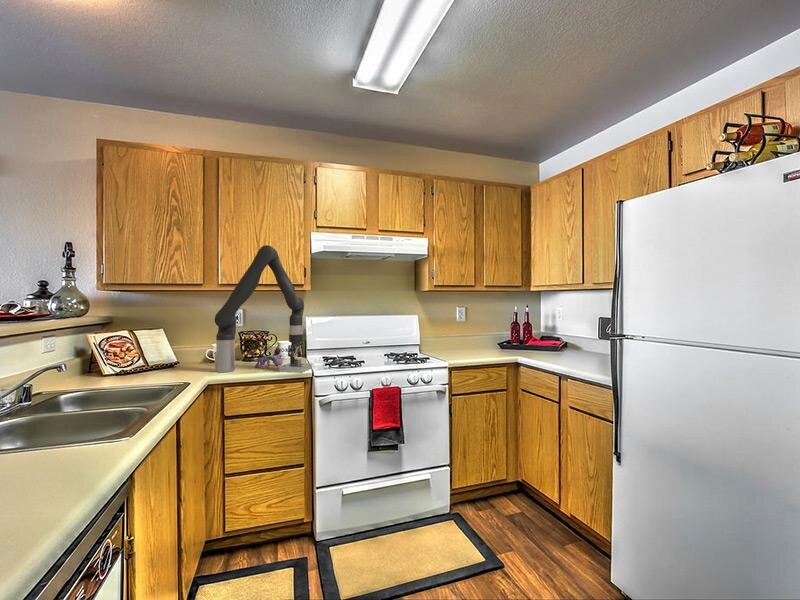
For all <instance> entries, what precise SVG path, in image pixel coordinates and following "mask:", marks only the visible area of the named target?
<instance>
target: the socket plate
mask: <svg viewBox="0 0 800 600" xmlns="http://www.w3.org/2000/svg"><path fill="white" fill-rule="evenodd" d="M311 368H312V369H313V363H309V362H301V365H300V366H290V362H289V363H286V364H281V365H280V366H279V368H278V370H279V371H278V372H279V373H293V374H294V373H295V374H296V373H297V374H298V373H299V374H302V373H305V372H307V371H310V370H312V369H311ZM309 369H310V370H309Z"/></svg>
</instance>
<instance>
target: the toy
mask: <svg viewBox="0 0 800 600" xmlns="http://www.w3.org/2000/svg"><path fill="white" fill-rule="evenodd" d="M270 361H272V363H273V365H275V366H276V365H280V366H282V365H283V363H284V358H283V355H282V354H281V350H280V349H279V348H278V347H276V348H275V349H274V354H273V355H264V356H261V357H259V358H258V359H257V361H256V363H255V365H254V368H255V369H257V367H258V368H259V367H263V366H265V367H264V368H265V370H269V368H270V366H271V365H270V363H271V362H270Z"/></svg>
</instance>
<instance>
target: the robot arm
mask: <svg viewBox="0 0 800 600" xmlns="http://www.w3.org/2000/svg"><path fill="white" fill-rule="evenodd" d="M277 251H278V250H276V249H275V248H274V247H273V246H271V245H266V244H265V245H262V246H261V247H260V248H259V249H258V251H257V252H256V255H255V257H254V259H253V260H252V262H251V263H250V266H249V267H248V268H247V269H246V271H245V273H244V274H243V275H242V276H241V278H240V279H239V281H238V282H237V284H236V285H235V287H234V288H233V290H232V292H231V294H230V295H229V297H228V298H227V300H226V302H225V303H224V304H223V305H222V307H221V308H220V309H218V311H217V312H216V314H215V316H214V323H215V325H216V326H217V327H218V330H217V334H216V335H215V337H216V339H215V340H216V343H215V344H216V348H215V349H216V350H215V351H216V353H214V372H215V371H216V372H215V373H231V372H234V371H236V369H235V368H236V367H235V366H236V365H235V364H236V363H235V361H236V358H235V357H236V356H235V353H236V352H235V351H236V348H235V346H236V345H235V344H236V343H235V340H236V332H237V318H236V317H237V316H236V314H237V312H238V311H239V309H240V308H241V306H243V304H244V303H245V302H247V300H248V299H250V297H251V296H252V295H253V294H254V292H255V290H256V289H257V288H258V285H259V282H260V279H261V276H262V274H263V272H264V270H265V268H266V267H269V268H270V271H272V273H273V275H274V279H275V280H276V283H277V286H278V288H279V289H280V291H281V293H282V294H283V296H284V297H283V298H284V300H285V303H286V305H287V307H288V308H289V309H290V310H291V315H289V318H288V319H289V327H288V342H289V343H291V344H289V345H288V346H287V357H289V359H290V361H289V363H290V364H294V363H295V357H301V358H302V355H303V354H304V328H303V327H304V326H303V315H304V310H305V302H304V300H303V298H301V297H298V295H297V294H296V289H295V286H294V284H293V282H292V281H291V279H290V278H289V276H288V274H287V272H286V271H285V269H284V267H283V263H282V261H281V260H280V256H279V254H278V252H277Z"/></svg>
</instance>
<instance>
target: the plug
mask: <svg viewBox="0 0 800 600" xmlns="http://www.w3.org/2000/svg"><path fill="white" fill-rule="evenodd" d="M301 363H302V356H301V357H297V356H295V363H294V364H290V366H300V365H301Z"/></svg>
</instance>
